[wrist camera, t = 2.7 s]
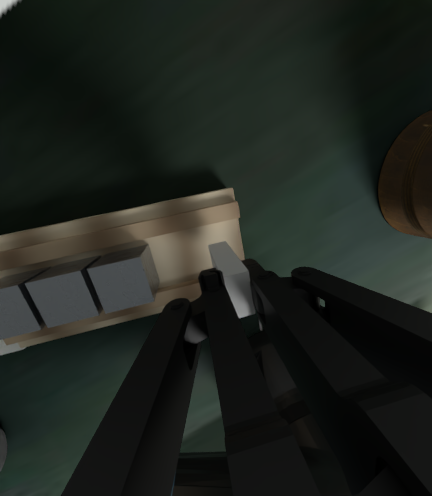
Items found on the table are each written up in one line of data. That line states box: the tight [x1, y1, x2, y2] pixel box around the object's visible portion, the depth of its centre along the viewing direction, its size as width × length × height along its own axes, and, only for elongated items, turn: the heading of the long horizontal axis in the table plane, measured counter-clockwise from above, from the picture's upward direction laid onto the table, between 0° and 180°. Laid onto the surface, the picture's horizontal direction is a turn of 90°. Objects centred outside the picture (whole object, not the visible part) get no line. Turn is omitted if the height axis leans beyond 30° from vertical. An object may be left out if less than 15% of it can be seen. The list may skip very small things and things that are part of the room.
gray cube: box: [87, 244, 160, 314], centre depth 18 cm, size 4×4×4 cm
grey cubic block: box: [0, 266, 52, 340], centre depth 17 cm, size 4×4×4 cm
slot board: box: [0, 188, 245, 348], centre depth 21 cm, size 24×11×4 cm, turn 102°
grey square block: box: [25, 255, 103, 328], centre depth 18 cm, size 4×4×4 cm
